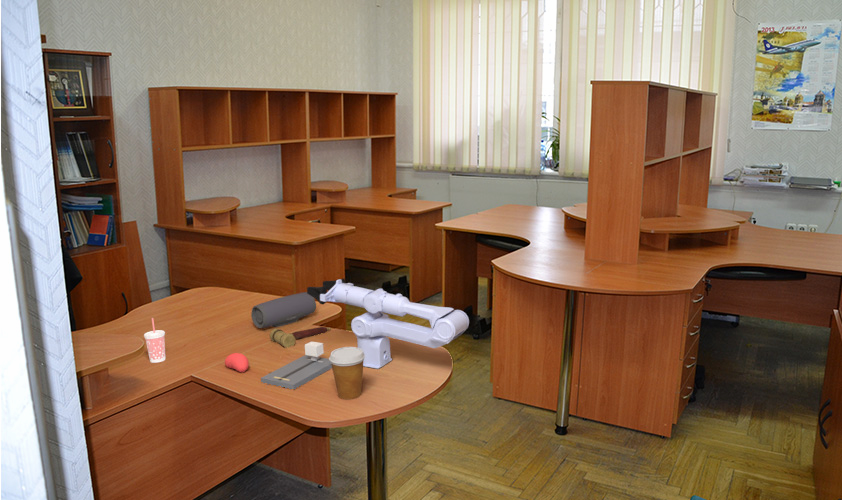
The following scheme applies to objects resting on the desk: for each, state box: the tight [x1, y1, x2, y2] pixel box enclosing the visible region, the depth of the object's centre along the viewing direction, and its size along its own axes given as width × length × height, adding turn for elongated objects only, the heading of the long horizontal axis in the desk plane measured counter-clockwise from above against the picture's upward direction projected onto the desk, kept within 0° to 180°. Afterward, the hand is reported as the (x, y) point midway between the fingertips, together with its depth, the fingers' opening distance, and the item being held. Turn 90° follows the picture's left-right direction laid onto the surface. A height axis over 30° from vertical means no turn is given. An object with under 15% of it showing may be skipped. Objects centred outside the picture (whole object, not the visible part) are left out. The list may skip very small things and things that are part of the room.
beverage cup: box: [143, 317, 166, 364], centre depth 204 cm, size 6×6×14 cm
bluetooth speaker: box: [250, 291, 317, 329], centre depth 237 cm, size 23×9×10 cm, turn 136°
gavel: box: [269, 326, 332, 349], centre depth 221 cm, size 21×5×10 cm
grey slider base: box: [260, 354, 332, 390], centre depth 189 cm, size 12×20×2 cm, turn 151°
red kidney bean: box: [224, 352, 250, 373], centre depth 195 cm, size 5×9×6 cm
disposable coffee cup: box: [328, 346, 365, 400], centre depth 173 cm, size 10×10×12 cm
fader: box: [304, 341, 324, 361], centre depth 195 cm, size 4×3×5 cm
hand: (315, 287), depth 201 cm, fingers open, 7 cm apart
